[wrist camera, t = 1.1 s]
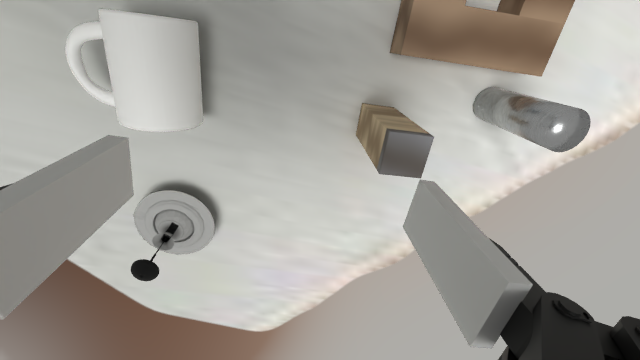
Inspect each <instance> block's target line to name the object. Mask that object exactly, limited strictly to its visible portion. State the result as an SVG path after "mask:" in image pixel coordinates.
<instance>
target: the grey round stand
mask: <svg viewBox="0 0 640 360" xmlns="http://www.w3.org/2000/svg"><path fill="white" fill-rule="evenodd" d="M133 216H134V221H135V225H136V227H137V230H138V232H139V234H140V235H141V236H142V237H143V238H144V239H145V240H146V241H147V242H148V243H149V244H150V245H152V246H153V247H155V248H157V249H158V250H157V252H158V251H159V250H161V251H164V252H167V253H172V254H190V253H193V252H196V251H199V250H201V249H202V248H204V247H205V246H206V245H207V244H208V243H209V242H210V241H211V239H212V237H213V235H214V230H215V224H214V219H213V217H212V214H211V213H210V211H209V210H208V208H207V207H206V206H205V205H204V204H203V203H202V202H201V201H200V200H199V199H197V198H196V197H194V196H192V195H190V194H187V193H183V192H180V191H174V190H163V191H157V192H154V193H152V194H149V195H147V196H146V197H144V198H143V199H142V200H141V201H140V202H139V204H138V206H137V207H136V209H135V212H134V215H133ZM157 252H156V253H157ZM156 253H155V254H154V256H153V257H152V259H151V260H150V261H149V260H144V259H143V260H137V261H135V262H134V263H133V264H132V266H131V273H132V274H133V276H134V277H135V278H137V279H139V280H142V281H151V280H153V279H155V278H156V277H157V276H158V274H159V268H158V266H157V265H156V264H155V263H153V262H152V261H153V259H154V257H155V256H156Z"/></svg>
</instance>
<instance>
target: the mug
mask: <svg viewBox="0 0 640 360" xmlns="http://www.w3.org/2000/svg"><path fill="white" fill-rule="evenodd" d="M98 13H99V19H100V21H91V22H86V23H82V24H80V25H78V26H76V27H75V28H73V29H72V30H71V32H70V33H69V35H68V37H67V40H66V46H65V51H66V58H67V61H68V64H69V67H70V69H71V71H72V73H73V75H74V76H75V78H76V79H77V81H78V82H79V83H80V85H81V86H82V87H83V88H84V89H85V90H86V91H87V92H88V93H89V94H90V95H91V96H93V97H94V98H95V99H97V100H98V101H100V102H102V103H104V104H107V105H110V106H113V107H116V113H117V118H118V122H119V123H120V124H121V125H122V126H124V127H127V128H130V129H134V130H139V131H147V132H174V131H182V130H188V129H192V128H195V127H197V126H199V125H201V124H202V122H203V106H202V87H201V69H200V51H199V32H198V23H197V22H196V21H193V20H186V19H179V18H172V17H165V16H157V15H150V14H142V13H135V12H127V11H119V10H112V9H103V8H100V9H99V10H98ZM96 39H103V41H104V47H105V52H106V58H107V63H108V69H109V74H110V80H111V85H112V91H113V92H112V91H109V90H106V89H103V88H101V87H99V86H98V85H96V84H95V83H94V82H93V81H92V80H91V79H90V77H89V76H88V74H87V72H86V69H85V66H84V63H83V60H82V55H81V47H82V45H83V44H84V43H85V42H87V41H90V40H96Z"/></svg>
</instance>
